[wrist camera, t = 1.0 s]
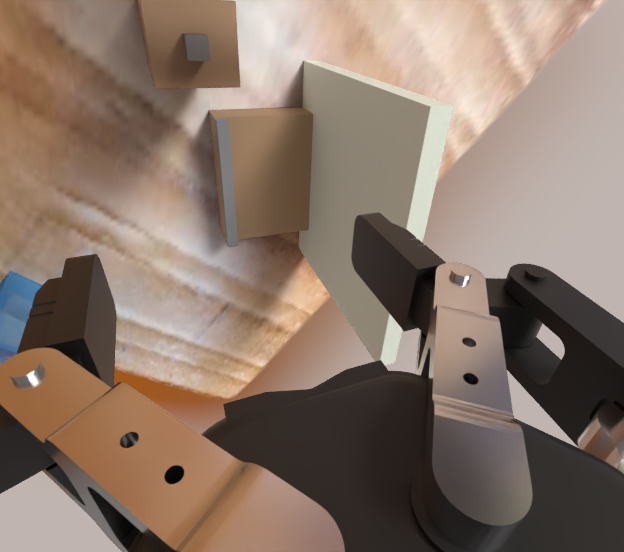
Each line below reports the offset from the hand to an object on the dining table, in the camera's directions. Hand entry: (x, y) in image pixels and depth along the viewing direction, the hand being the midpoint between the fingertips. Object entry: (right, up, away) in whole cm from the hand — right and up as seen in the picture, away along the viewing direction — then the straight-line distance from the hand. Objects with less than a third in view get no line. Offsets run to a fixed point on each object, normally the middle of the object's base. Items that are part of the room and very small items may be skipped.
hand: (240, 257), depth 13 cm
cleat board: (-2, +10, +28) cm, 30 cm away
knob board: (-9, +19, +19) cm, 28 cm away
